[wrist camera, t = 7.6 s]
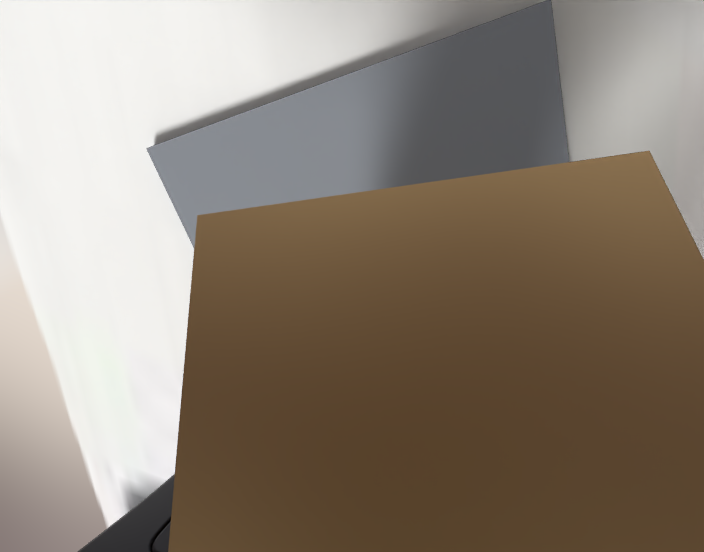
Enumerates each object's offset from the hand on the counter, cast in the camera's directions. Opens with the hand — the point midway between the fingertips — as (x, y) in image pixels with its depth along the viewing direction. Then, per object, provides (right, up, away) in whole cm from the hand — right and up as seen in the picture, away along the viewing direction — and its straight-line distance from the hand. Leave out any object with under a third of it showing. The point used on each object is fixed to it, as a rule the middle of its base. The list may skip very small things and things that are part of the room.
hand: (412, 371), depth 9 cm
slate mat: (0, +3, +8) cm, 8 cm away
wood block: (+1, -4, +6) cm, 7 cm away
